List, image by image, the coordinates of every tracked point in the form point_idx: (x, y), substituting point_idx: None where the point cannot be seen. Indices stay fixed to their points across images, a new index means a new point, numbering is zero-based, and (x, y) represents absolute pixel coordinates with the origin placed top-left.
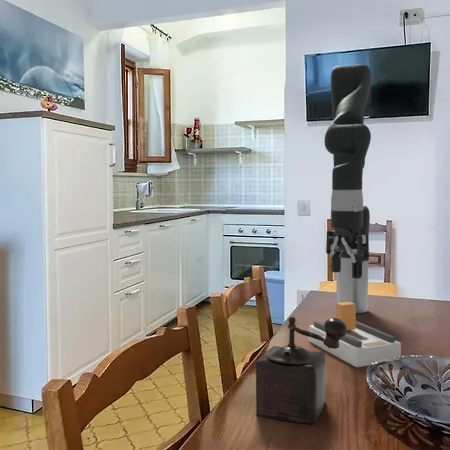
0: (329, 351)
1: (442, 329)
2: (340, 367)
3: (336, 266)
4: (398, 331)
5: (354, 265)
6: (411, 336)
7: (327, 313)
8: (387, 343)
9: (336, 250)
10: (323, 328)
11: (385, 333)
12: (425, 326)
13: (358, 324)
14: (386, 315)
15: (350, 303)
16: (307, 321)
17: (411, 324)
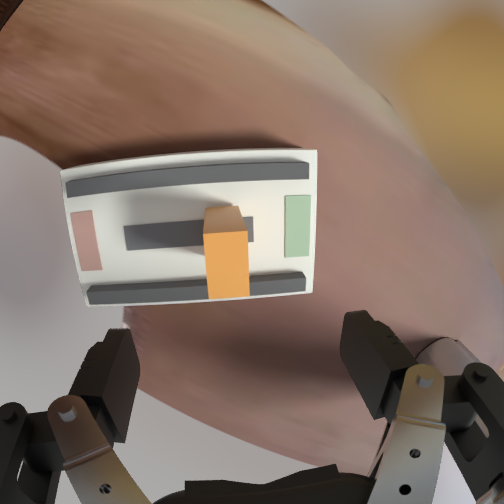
0: (192, 151)
1: (254, 441)
2: (90, 128)
3: (357, 351)
4: (278, 384)
5: (85, 385)
6: (237, 388)
7: (449, 309)
8: (85, 274)
9: (387, 438)
10: (246, 163)
11: (119, 300)
12: (282, 430)
13: None
14: None
15: (220, 283)
16: (434, 237)
17: (304, 418)
